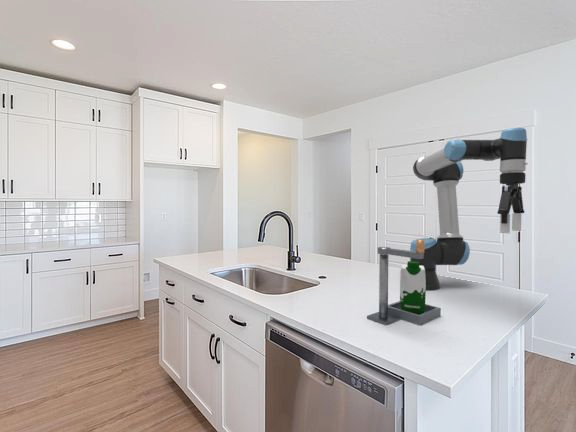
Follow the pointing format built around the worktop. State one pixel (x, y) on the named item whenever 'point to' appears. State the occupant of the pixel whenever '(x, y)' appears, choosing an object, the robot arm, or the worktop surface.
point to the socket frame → (428, 314)
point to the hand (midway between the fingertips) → (510, 231)
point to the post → (383, 295)
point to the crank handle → (405, 251)
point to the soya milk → (412, 288)
